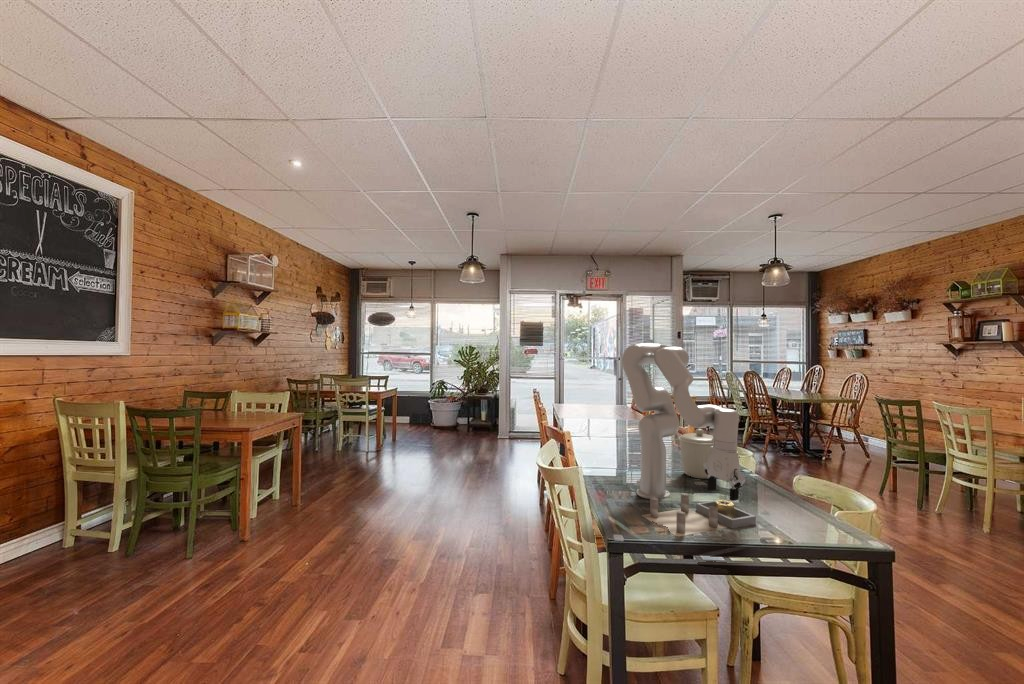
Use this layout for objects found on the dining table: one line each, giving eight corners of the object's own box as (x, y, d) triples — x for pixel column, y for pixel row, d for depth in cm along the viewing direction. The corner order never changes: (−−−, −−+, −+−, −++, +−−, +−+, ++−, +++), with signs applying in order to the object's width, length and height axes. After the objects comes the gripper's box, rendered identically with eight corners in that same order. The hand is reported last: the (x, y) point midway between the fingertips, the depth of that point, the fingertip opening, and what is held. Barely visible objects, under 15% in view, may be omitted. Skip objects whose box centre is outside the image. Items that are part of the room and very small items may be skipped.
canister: (695, 483, 197) (695, 433, 196) (669, 471, 214) (670, 426, 214) (730, 479, 202) (731, 431, 201) (702, 468, 219) (702, 424, 219)
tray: (695, 513, 163) (696, 503, 163) (717, 509, 167) (718, 500, 167) (732, 531, 148) (732, 520, 148) (755, 526, 152) (755, 516, 152)
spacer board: (641, 518, 158) (641, 497, 158) (687, 510, 165) (687, 491, 165) (677, 539, 142) (677, 517, 141) (727, 530, 149) (727, 508, 149)
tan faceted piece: (711, 515, 159) (712, 501, 159) (725, 513, 161) (725, 499, 161) (723, 521, 154) (723, 506, 154) (737, 519, 156) (737, 504, 156)
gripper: (697, 439, 164) (695, 487, 165) (737, 453, 148) (734, 505, 149) (714, 438, 167) (711, 485, 167) (754, 451, 150) (752, 503, 151)
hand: (722, 494), depth 158 cm, fingers open, 9 cm apart
